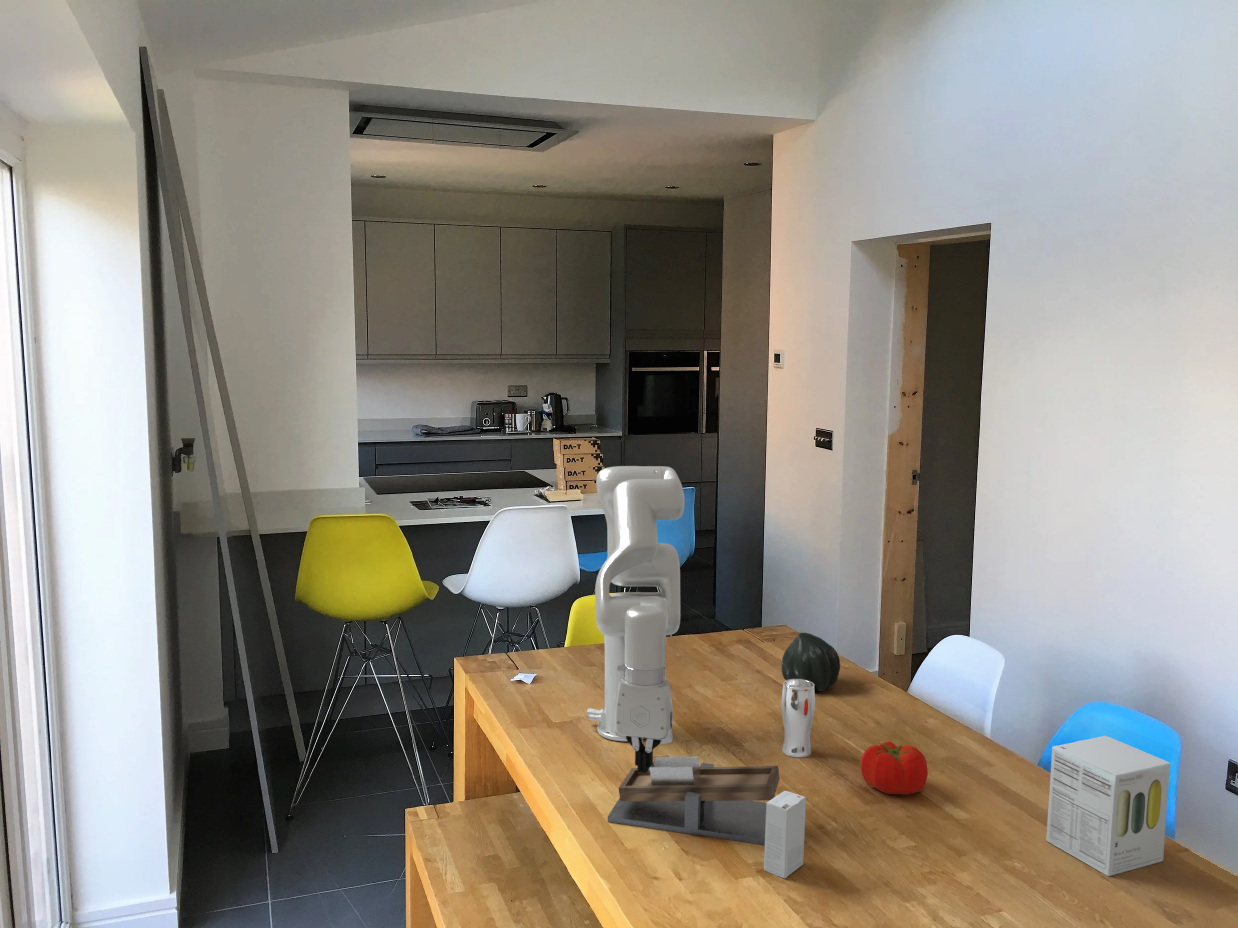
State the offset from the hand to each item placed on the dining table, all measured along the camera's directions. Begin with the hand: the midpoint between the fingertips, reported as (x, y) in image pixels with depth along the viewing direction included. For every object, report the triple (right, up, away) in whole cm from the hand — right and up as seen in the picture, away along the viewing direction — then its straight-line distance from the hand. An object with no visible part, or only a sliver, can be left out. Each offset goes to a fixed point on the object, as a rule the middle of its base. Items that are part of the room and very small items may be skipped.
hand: (643, 769), depth 182 cm
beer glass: (+33, -5, +28) cm, 44 cm away
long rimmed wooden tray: (+10, -3, -3) cm, 11 cm away
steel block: (+6, -2, -2) cm, 7 cm away
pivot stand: (+10, -8, -2) cm, 13 cm away
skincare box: (+23, -10, -20) cm, 32 cm away
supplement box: (+79, -10, -13) cm, 80 cm away
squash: (+44, -1, +69) cm, 82 cm away
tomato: (+49, -7, +11) cm, 51 cm away
